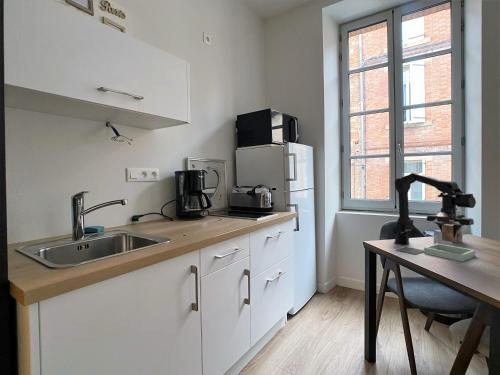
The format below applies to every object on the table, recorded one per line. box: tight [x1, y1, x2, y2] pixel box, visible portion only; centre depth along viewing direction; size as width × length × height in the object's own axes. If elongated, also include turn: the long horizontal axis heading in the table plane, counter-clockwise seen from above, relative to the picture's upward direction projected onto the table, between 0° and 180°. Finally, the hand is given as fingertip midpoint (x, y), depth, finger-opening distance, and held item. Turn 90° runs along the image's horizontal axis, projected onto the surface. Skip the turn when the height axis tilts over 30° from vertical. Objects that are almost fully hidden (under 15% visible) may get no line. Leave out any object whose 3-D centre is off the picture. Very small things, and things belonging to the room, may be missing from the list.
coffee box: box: [445, 214, 464, 243], centre depth 162 cm, size 9×6×16 cm
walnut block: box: [442, 224, 456, 243], centre depth 134 cm, size 4×4×8 cm
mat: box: [396, 246, 424, 256], centre depth 143 cm, size 10×10×1 cm
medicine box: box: [433, 229, 453, 246], centre depth 152 cm, size 8×4×9 cm, turn 84°
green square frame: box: [423, 243, 476, 262], centre depth 135 cm, size 17×14×3 cm
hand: (449, 236), depth 135 cm, fingers closed on walnut block, 4 cm apart
